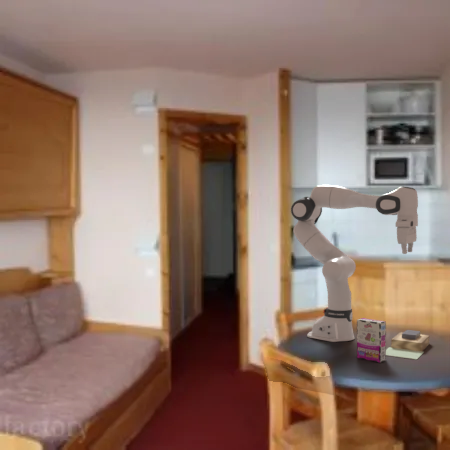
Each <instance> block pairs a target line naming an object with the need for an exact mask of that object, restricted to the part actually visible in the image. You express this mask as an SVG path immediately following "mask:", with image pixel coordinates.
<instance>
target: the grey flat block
mask: <svg viewBox="0 0 450 450" xmlns="http://www.w3.org/2000/svg"><path fill="white" fill-rule="evenodd" d="M420 334H421V331H420V330H411V329H406V330H405V331H403V333H402V338H405V339H413V340H416V339H417V338H418V337H419V336H420Z"/></svg>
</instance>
